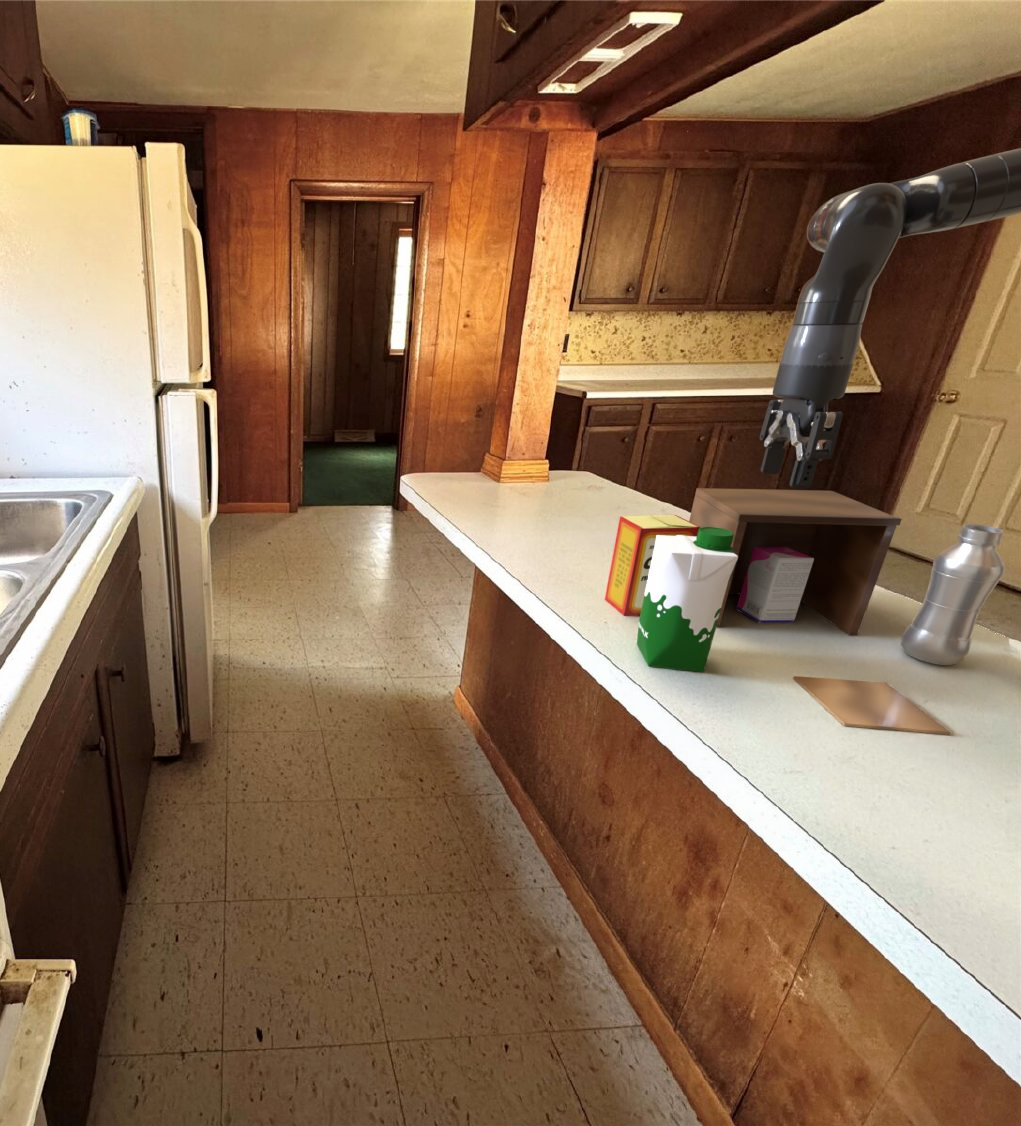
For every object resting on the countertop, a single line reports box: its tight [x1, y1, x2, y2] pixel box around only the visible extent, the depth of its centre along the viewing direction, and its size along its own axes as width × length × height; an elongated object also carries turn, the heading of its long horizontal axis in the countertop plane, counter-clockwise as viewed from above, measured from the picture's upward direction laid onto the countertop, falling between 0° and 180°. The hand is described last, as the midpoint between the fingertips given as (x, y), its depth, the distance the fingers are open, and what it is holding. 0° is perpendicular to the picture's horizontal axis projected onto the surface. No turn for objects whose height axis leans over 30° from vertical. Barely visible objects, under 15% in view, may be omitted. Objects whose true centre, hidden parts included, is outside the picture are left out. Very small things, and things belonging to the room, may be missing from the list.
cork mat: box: [792, 675, 952, 736], centre depth 80 cm, size 11×11×1 cm
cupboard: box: [688, 487, 903, 637], centre depth 102 cm, size 16×21×19 cm
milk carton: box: [636, 527, 738, 673], centre depth 88 cm, size 9×9×20 cm
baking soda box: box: [604, 514, 700, 617], centre depth 105 cm, size 10×6×16 cm
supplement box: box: [735, 547, 814, 625], centre depth 101 cm, size 6×6×12 cm
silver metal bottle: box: [900, 523, 1006, 666], centre depth 86 cm, size 6×7×20 cm
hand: (783, 480), depth 88 cm, fingers open, 8 cm apart
